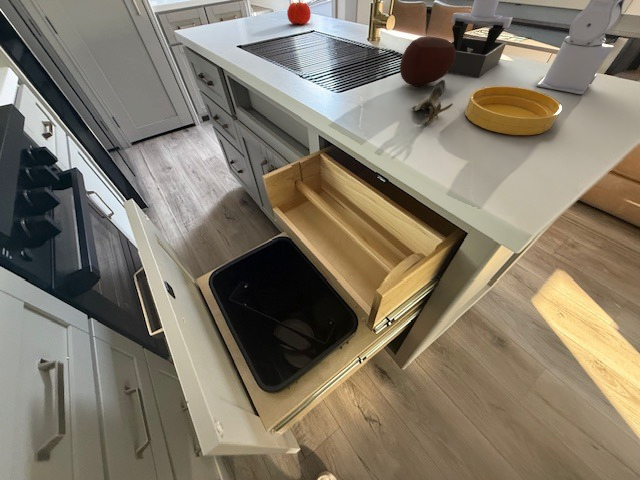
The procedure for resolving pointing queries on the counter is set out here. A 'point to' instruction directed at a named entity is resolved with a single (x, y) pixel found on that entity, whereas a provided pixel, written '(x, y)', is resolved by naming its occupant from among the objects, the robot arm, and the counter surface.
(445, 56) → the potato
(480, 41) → the bin
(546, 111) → the bowl
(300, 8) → the tomato
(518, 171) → the counter surface
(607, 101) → the counter surface
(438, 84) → the eagle figurine
